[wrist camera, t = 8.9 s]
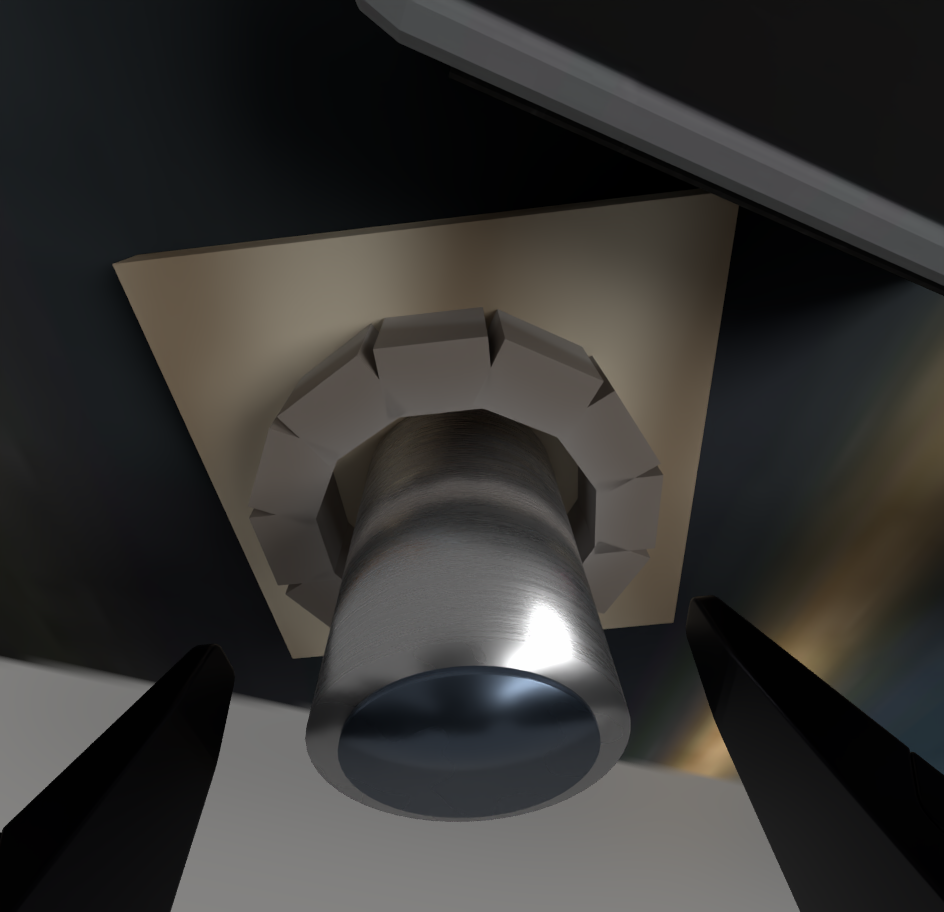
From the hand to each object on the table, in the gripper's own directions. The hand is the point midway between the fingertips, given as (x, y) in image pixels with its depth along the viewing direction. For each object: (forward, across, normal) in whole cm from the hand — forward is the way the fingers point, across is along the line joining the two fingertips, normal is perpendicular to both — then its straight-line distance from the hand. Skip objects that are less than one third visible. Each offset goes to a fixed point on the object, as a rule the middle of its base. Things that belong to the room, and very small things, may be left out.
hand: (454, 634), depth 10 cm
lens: (+5, 0, 0) cm, 5 cm away
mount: (+6, 0, 0) cm, 6 cm away
